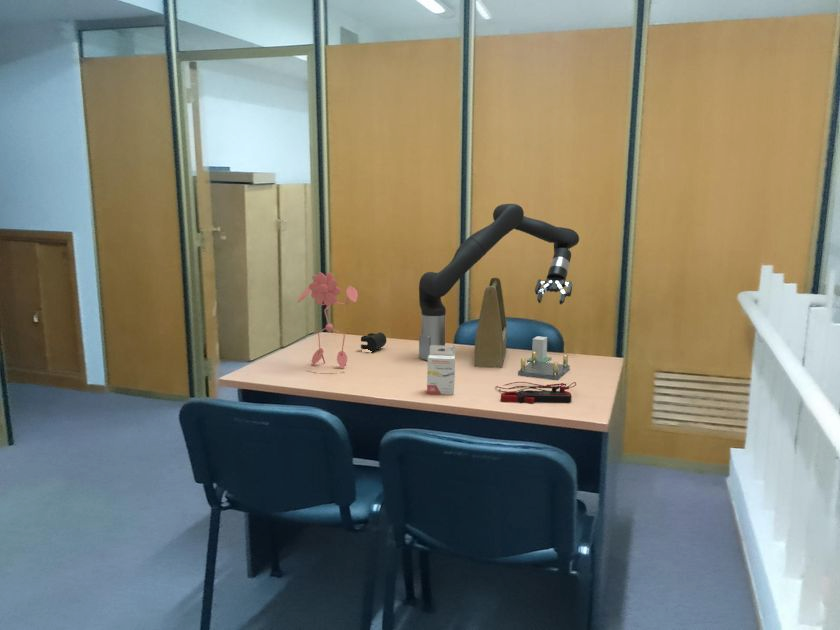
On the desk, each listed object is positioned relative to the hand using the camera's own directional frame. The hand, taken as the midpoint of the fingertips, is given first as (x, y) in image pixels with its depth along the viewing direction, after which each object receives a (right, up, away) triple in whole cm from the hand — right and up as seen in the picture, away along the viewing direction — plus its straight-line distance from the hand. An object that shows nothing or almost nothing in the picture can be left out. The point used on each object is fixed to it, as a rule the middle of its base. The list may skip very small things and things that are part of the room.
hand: (549, 302), depth 263 cm
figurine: (-85, -24, -21) cm, 91 cm away
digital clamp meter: (-14, -30, -51) cm, 61 cm away
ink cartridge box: (-45, -30, -51) cm, 74 cm away
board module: (-6, -23, -7) cm, 24 cm away
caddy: (-24, -22, -4) cm, 32 cm away
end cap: (-70, -20, +9) cm, 73 cm away
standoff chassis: (-7, -25, -25) cm, 36 cm away
